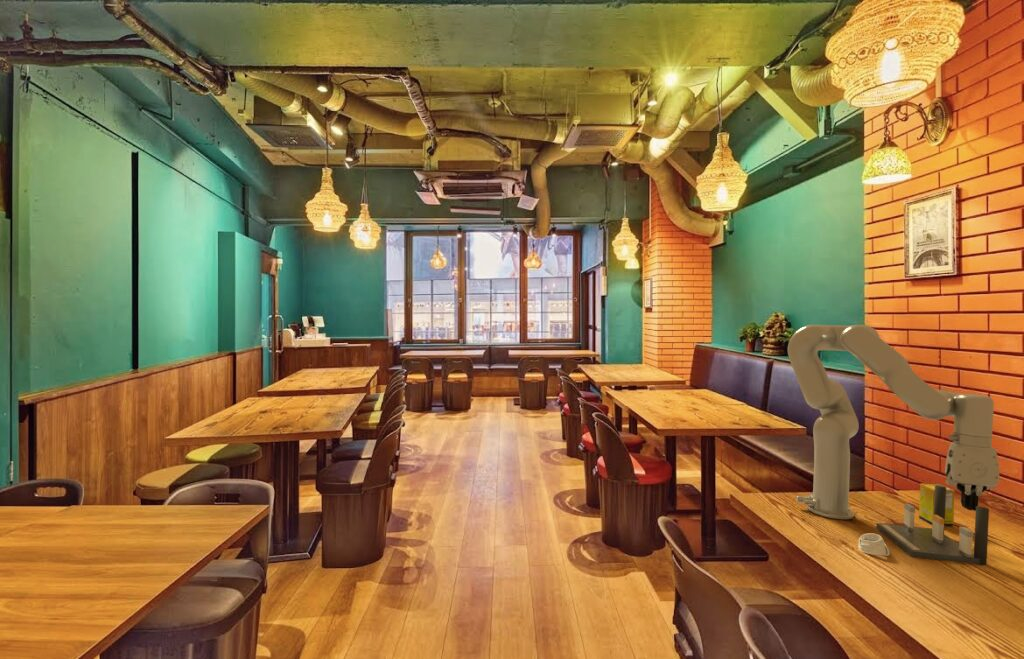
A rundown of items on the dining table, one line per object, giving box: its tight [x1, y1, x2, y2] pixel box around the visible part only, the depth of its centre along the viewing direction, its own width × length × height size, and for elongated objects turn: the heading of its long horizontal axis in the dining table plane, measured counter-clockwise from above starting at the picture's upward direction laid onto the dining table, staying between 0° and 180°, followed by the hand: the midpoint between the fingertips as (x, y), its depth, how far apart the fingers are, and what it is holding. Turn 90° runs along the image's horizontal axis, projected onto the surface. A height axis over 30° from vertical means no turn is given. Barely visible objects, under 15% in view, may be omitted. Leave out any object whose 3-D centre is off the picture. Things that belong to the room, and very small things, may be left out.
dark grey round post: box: [934, 484, 990, 566], centre depth 132 cm, size 2×19×14 cm, turn 168°
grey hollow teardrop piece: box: [857, 532, 890, 557], centre depth 129 cm, size 8×7×5 cm
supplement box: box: [918, 483, 955, 527], centre depth 150 cm, size 6×6×11 cm
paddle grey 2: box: [958, 526, 974, 555], centre depth 126 cm, size 1×3×6 cm, turn 168°
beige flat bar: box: [903, 503, 916, 528], centre depth 141 cm, size 1×3×6 cm, turn 168°
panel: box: [875, 522, 980, 565], centre depth 134 cm, size 15×18×2 cm
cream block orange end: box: [931, 514, 945, 541], centre depth 133 cm, size 1×3×6 cm, turn 167°
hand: (969, 508), depth 132 cm, fingers closed
